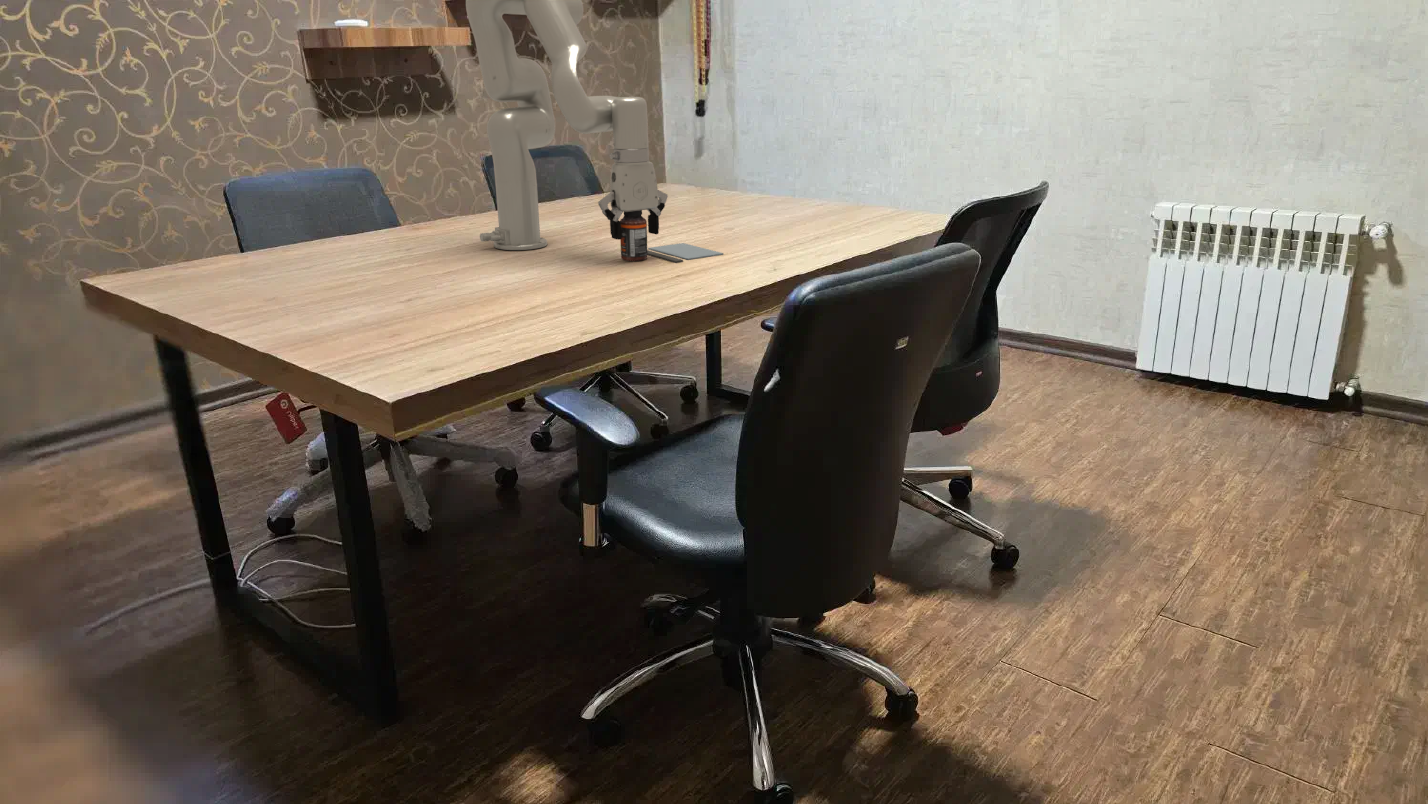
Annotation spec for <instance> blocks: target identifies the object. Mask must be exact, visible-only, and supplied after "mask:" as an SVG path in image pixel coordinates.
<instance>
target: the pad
mask: <svg viewBox="0 0 1428 804" xmlns="http://www.w3.org/2000/svg"><path fill="white" fill-rule="evenodd" d="M647 250H649V251H652V252H656V253H660V254H663V255H667V256H671V257H674V258H678V259H681V260H683V259H684V260H686V261H689V260H697V259H703V258H710V257H717V256H721V255H722V256H723V255H724V252H720V251H716V250H712V249H708V248H704V247H700V246H696V245H693V244H688V243H685V242H681V243H674V244H673V243H672V244H665V245H660V246H652V247H647Z"/></svg>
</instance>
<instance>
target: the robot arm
mask: <svg viewBox="0 0 1428 804" xmlns="http://www.w3.org/2000/svg"><path fill="white" fill-rule="evenodd" d="M465 9H466V15H467V18H468V22H469V26H470V28H471V32H472V35H473V38H474V42H475V48H476V52H477V58H478V63H479V68H480V72H481V78H482V83H483V87H484V90H485V92H486V94H487V97H488V98H490V100H491V101H492V100H493V101H494V102H497V103H498V102H500V103H508V102H509V103H511V102H513V103H515V102H516V103H517V107H515V106H514V107H506V108H501V109H499V110H497V111H494V113H492V114H491V116H489V119H488V121H487V124H486V136H487V139H488V141H487V142H488V144H489V146H490V152H491V156H492V162H493V171H494V172H493V173H494V181H495V184H494V185H495V194H496V206H497V208H496V209H497V220H498V226H497V227H496V226H495V227H494V230H492V231H491V232H482V233H480V234H479V239H480V242H489V241H490V242H493V248H495V249H497V250H498V249H499V250H504V251H527V250H535V249H536V250H537V249H541V248H544V247H547V245H548V239H546V238H545V237H544V238H543V237H541V228H540V227H541V226H540V225H541V224H540V212H539V196H538V194H539V193H538V181H537V170H536V169H537V168H536V166H535V162H534V160H533V157H532V155H531V153H530V151H529V150H534V149H540V148H544V147H546V146H548V145H550V144H551V142H552V141H553V140H554V138H555V135H556V134H555V133H556V120H555V119H556V118H555V115H554V109H553V104H552V98H551V92H550V87H549V83H548V78H547V75H546V73H545V71H544V69H543V68H542V67H541V65H540V64H539V63H538V62H537V61H536V60H534V59H531V58H526V57H519V56H518V53H517V50H516V46H515V45H516V44H515V40H514V37H513V33H512V31H511V29H510V28H509V26H508V24H507V22H506V21H505V20H504V18H503V15H504V14H506V15H507V14H508V15H522V16H526V17H527V19H528V21H529V22H530V25H531V26H532V28H533V30H534V32H535V34H536V36H537V38H538V39H539V41H540V44H541V45H542V47H543V49H544V51H545V53H546V55H547V57H548V59H549V60H550V63H551V72H550V74H551V75H550V76H551V79H550V80H551V89H552V95H553V98H554V100H555V102H556V104H557V106H558V108H559V110H560V111H561V114H562V115H563V117H564V119H565V120H566V122H567V124H568V125H569V126H570V128H572V129H573V130H574V131H575V132H578V133H580V134H584V135H585V134H587V135H588V134H595V133H606V132H607V133H608V132H612V139H613V152H610V153H609V155H608V156H609V159H610V160H613V162H614V163H612V164H611V170H610V179H609V180H610V182H609V193H608V194H607V195H605V196H604V197H602V198H601V199H600V200H598V202H597V203H598V207H599V208H600V210H601V212H602V215H604V216H605V217H606V219H607V220H608V221H609V227H610V228H609V229H610V232H609V233H610V236H611V238H612V239H614V240H619V241H620V239H622V233H621V222H620V219H621V218H620V217H621V216H622V214H624V212H632V211H640V210H642V211H647V212H648V213H649V214H648V215H647V233H649V234H652V235H659V231H660V230H659V229H660V220H659V219H660V218H659V217H660V216H661V215H662V211H663V210H664V209H665V207H666V205H665V204H666V203H667V200H668V197H669V195H668V194H667V193H665V192H663V191H661V190H659V189H658V183H657V182H658V181H657V175H656V170H655V166H654V163H653V162H651V161H650V148H649V125H648V124H649V121H648V105H647V104H648V103H647V100H646V99H645V98H644V97H642V96H623V97H622V96H621V97H619V96H614V95H592V96H590V95H589V96H588V95H587V93H586V91H585V90H584V87H583V86H582V84H581V82H580V79H579V77H578V72H577V66H578V62H580V61H581V60H582V59H583V58H584V56H586V53H587V50H588V45H587V43H586V41H585V40H584V37H583V36H582V33H581V32H580V30H579V28H578V26H577V25H578V24H580V22H581V21H582V19H583V16H584V4H583V1H582V0H465ZM608 204H610V207H611V209H610V208H609V205H608Z"/></svg>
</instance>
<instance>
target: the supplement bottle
mask: <svg viewBox="0 0 1428 804" xmlns="http://www.w3.org/2000/svg"><path fill="white" fill-rule="evenodd" d="M642 215H643V210H640V211H632V212H624V211H623V217H622V218H620V219H619V221H620V222H621V233H622V239H620V240H619V241H620V257H621V259H622V260H623V261H625V262H636V263H637V262H642V261H645V260H647V259H648V255H647V250H648V221H647V219H646V218H645V217H643V216H642Z"/></svg>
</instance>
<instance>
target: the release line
mask: <svg viewBox="0 0 1428 804" xmlns="http://www.w3.org/2000/svg"><path fill="white" fill-rule="evenodd" d="M647 256H648V257H650V256H651V257H653V258H656V259H661V260H664V261H667V262H670V263H675V264H678V263H683V262H684V260H683V259H682V258H679V257H675V256H671V255H668V254H664V253H660V252H657V251H653V250H650V249H647Z"/></svg>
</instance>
